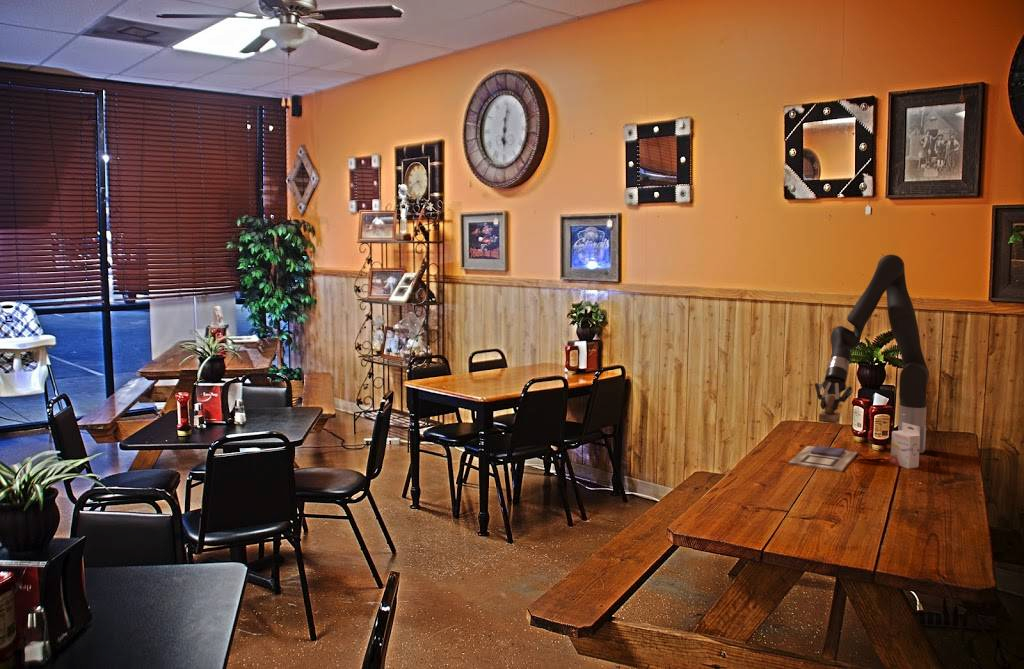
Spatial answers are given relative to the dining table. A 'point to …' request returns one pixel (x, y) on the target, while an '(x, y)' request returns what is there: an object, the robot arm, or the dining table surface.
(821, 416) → the hand stamp
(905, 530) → the dining table surface
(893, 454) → the ink cartridge box
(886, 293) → the robot arm
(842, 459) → the stamping board
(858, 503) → the dining table surface
